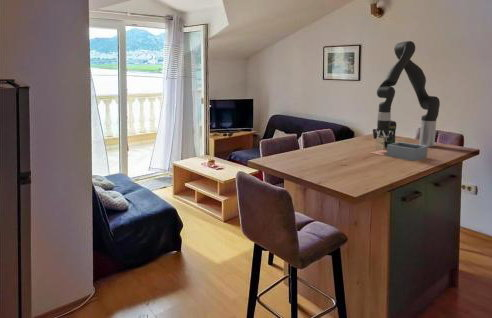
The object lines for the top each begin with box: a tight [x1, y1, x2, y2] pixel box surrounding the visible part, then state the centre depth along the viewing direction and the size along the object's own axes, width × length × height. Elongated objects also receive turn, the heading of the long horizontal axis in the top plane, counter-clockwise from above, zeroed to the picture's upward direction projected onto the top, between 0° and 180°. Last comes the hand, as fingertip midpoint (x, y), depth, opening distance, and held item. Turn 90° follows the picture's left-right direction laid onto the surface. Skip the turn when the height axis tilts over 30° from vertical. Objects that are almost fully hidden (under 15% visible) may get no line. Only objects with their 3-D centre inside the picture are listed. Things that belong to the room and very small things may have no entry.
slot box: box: [386, 141, 429, 162], centre depth 246 cm, size 14×18×7 cm
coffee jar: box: [381, 119, 397, 144], centre depth 270 cm, size 10×8×19 cm
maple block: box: [375, 137, 387, 150], centre depth 256 cm, size 5×5×7 cm
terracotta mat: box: [369, 149, 387, 157], centre depth 257 cm, size 12×9×1 cm
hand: (382, 146), depth 256 cm, fingers closed on maple block, 5 cm apart
